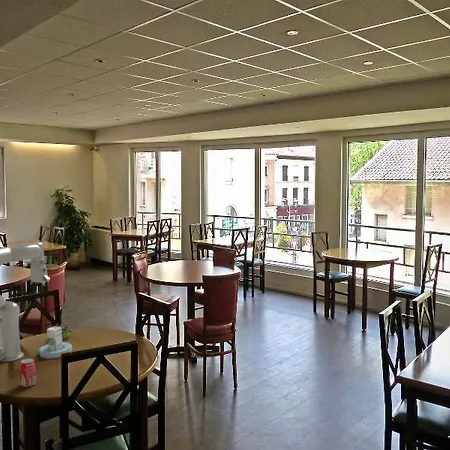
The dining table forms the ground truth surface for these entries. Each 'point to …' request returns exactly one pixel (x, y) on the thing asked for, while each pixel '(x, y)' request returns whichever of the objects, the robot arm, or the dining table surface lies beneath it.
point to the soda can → (27, 372)
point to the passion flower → (64, 327)
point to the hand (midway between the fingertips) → (39, 291)
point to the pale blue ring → (54, 354)
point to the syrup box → (54, 338)
